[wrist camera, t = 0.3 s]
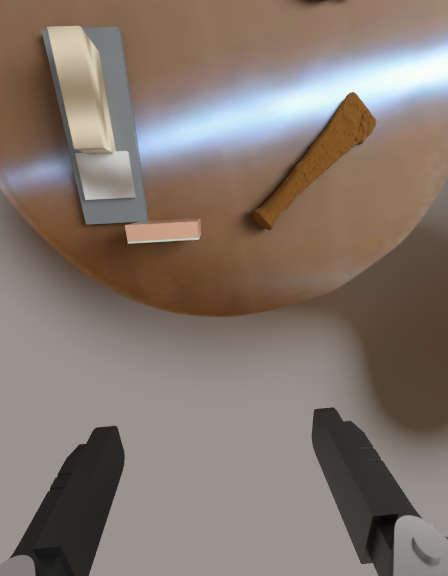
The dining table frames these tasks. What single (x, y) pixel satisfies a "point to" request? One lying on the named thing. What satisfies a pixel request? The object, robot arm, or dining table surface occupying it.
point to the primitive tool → (320, 156)
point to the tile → (163, 230)
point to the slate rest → (121, 122)
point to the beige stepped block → (89, 116)
